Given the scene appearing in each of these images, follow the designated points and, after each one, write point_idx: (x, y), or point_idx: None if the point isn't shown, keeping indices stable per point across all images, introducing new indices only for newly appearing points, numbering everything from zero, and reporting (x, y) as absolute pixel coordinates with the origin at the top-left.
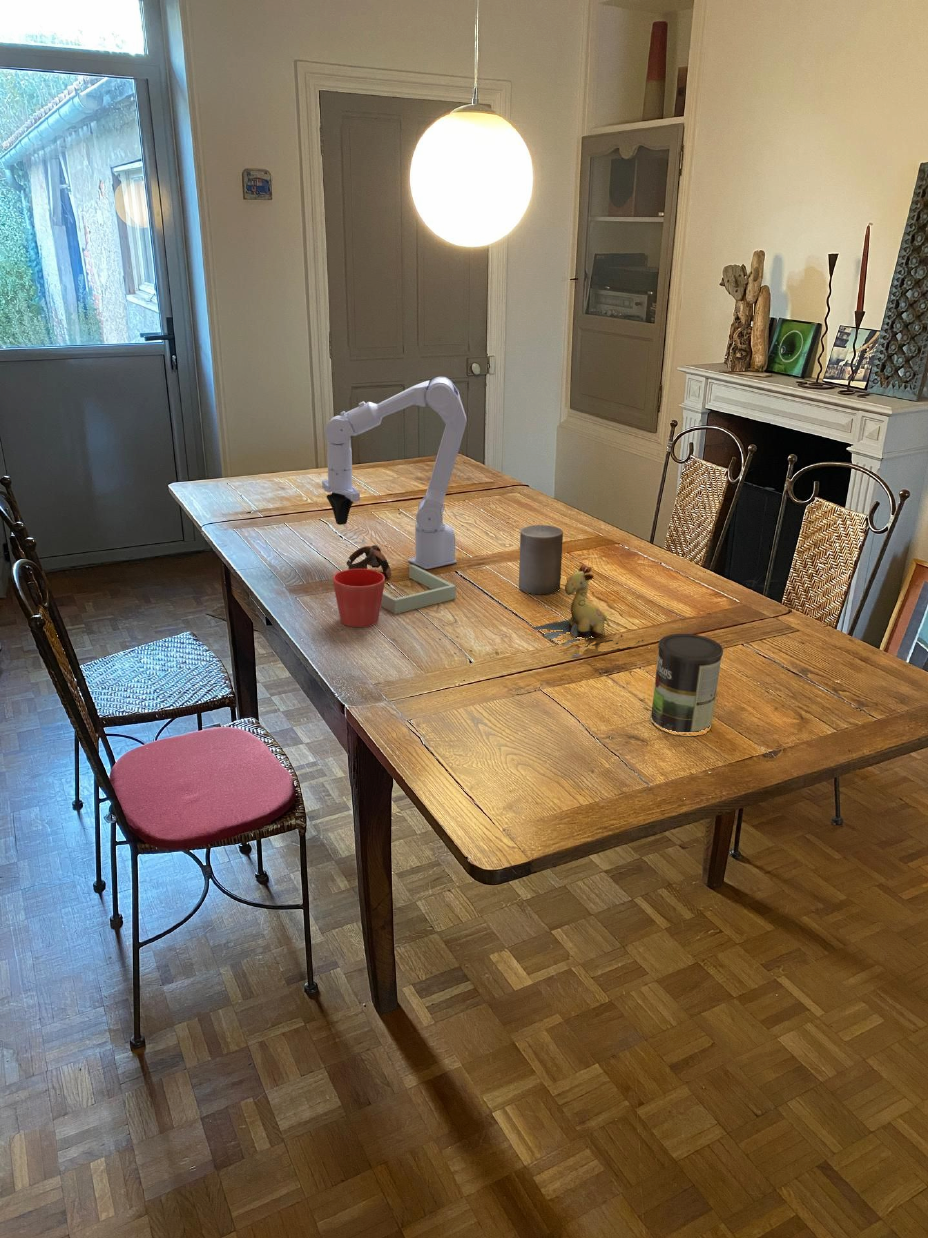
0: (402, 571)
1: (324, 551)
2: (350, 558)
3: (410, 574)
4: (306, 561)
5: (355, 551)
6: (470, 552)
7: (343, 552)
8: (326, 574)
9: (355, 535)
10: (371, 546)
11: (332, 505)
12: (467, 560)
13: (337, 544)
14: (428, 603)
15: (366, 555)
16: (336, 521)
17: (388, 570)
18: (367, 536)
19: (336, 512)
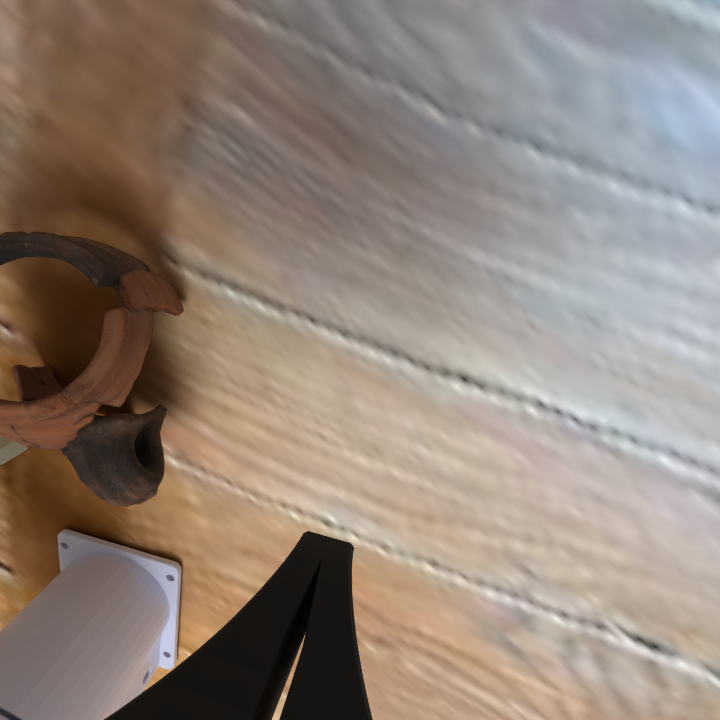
0: None
1: (556, 452)
2: (116, 311)
3: (5, 440)
4: (513, 273)
5: (94, 360)
6: None
7: (463, 495)
8: (261, 205)
9: (601, 684)
10: (110, 476)
11: (311, 717)
12: None
13: (579, 560)
14: None
15: (127, 414)
16: (337, 553)
17: (17, 387)
18: (543, 695)
19: (270, 623)
